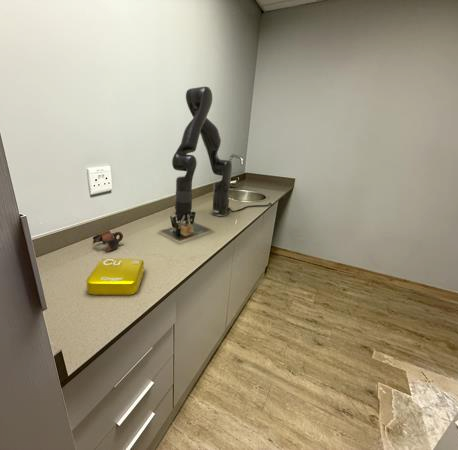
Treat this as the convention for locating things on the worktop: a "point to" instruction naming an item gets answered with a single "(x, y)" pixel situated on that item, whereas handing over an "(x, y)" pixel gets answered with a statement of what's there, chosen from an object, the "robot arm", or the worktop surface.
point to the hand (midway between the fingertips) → (182, 233)
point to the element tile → (116, 277)
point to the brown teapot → (108, 239)
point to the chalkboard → (196, 231)
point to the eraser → (185, 230)
